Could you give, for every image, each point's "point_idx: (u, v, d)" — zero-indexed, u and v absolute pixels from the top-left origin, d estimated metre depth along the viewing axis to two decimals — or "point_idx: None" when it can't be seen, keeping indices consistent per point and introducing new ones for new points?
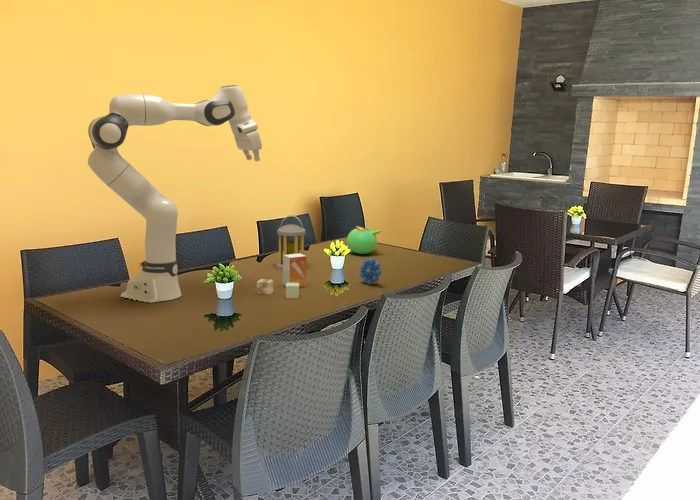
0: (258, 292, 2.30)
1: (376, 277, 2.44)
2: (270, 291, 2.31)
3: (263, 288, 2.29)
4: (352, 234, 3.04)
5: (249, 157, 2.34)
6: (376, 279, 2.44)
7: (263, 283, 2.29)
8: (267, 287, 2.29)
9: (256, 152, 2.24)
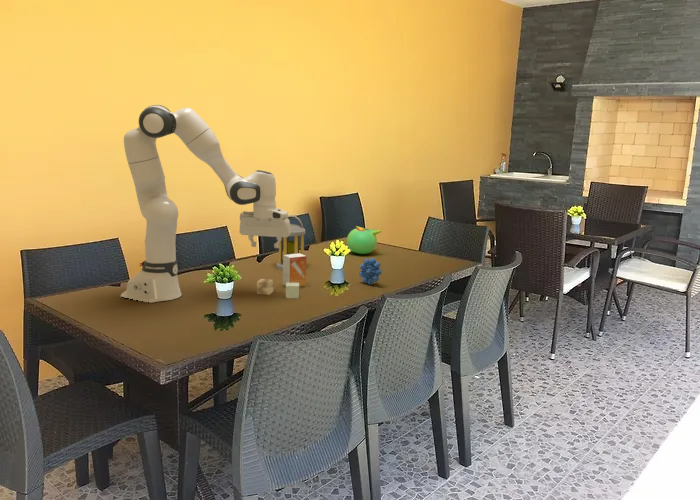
0: (258, 292, 2.30)
1: (376, 277, 2.44)
2: (270, 291, 2.31)
3: (263, 288, 2.29)
4: (352, 234, 3.04)
5: (255, 244, 2.29)
6: (376, 279, 2.44)
7: (263, 283, 2.29)
8: (267, 287, 2.29)
9: (280, 239, 2.26)
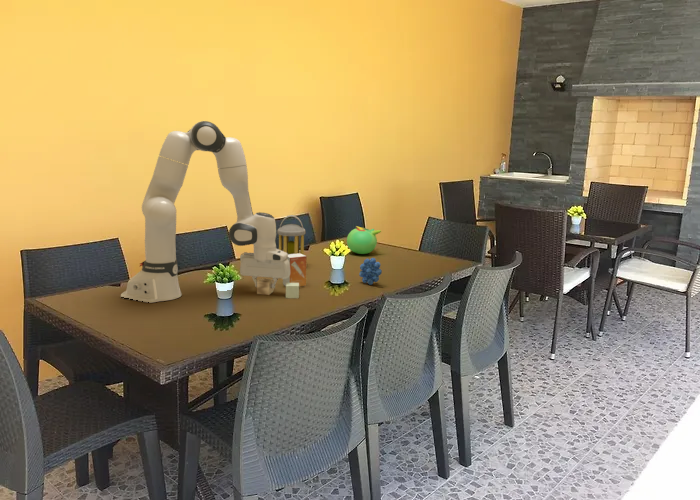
0: (258, 292, 2.30)
1: (376, 277, 2.44)
2: (270, 291, 2.31)
3: (263, 288, 2.29)
4: (352, 234, 3.04)
5: None
6: (376, 279, 2.44)
7: (263, 283, 2.29)
8: (267, 287, 2.29)
9: (276, 279, 2.30)
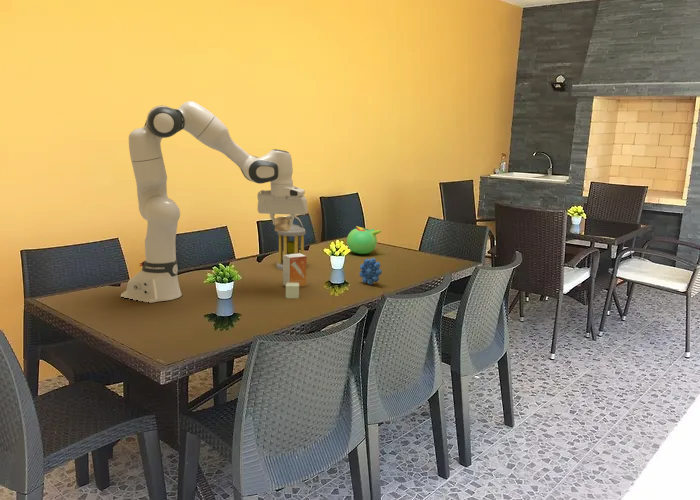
0: (276, 229, 2.31)
1: (376, 277, 2.44)
2: (288, 228, 2.32)
3: (281, 225, 2.30)
4: (352, 234, 3.04)
5: None
6: (376, 279, 2.44)
7: (281, 220, 2.30)
8: (284, 223, 2.30)
9: (294, 216, 2.31)
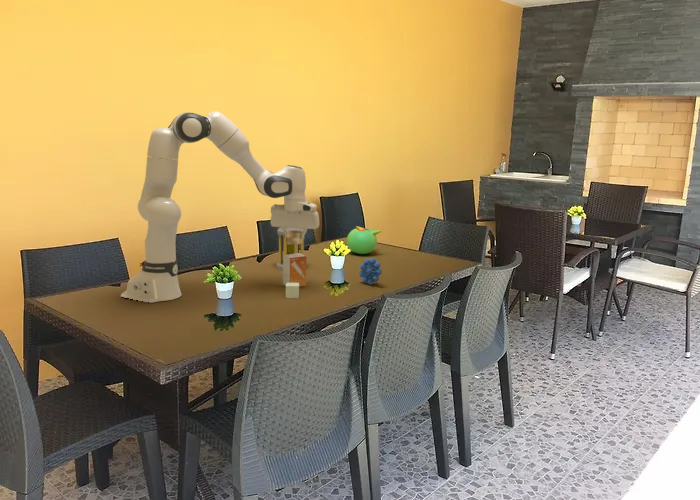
0: (288, 242, 2.38)
1: (376, 277, 2.44)
2: (300, 241, 2.39)
3: (293, 238, 2.37)
4: (352, 234, 3.04)
5: None
6: (376, 279, 2.44)
7: (293, 233, 2.37)
8: (297, 237, 2.37)
9: (306, 230, 2.38)
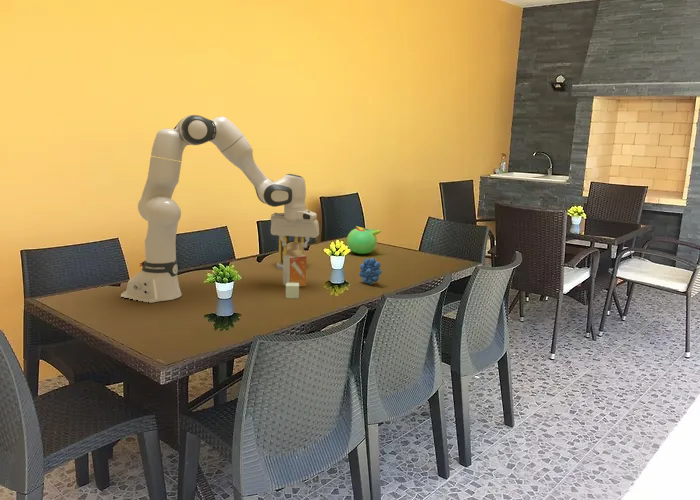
0: (288, 254, 2.39)
1: (376, 277, 2.44)
2: (299, 253, 2.40)
3: (293, 250, 2.38)
4: (352, 234, 3.04)
5: (286, 243, 2.41)
6: (376, 279, 2.44)
7: (293, 246, 2.38)
8: (296, 249, 2.38)
9: (308, 239, 2.39)
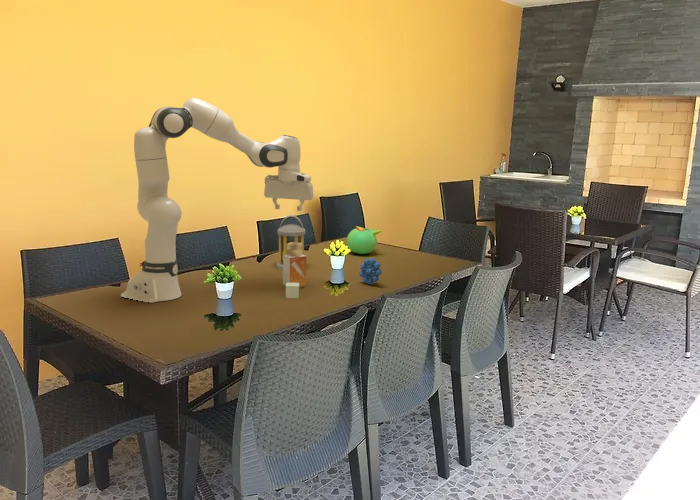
0: (288, 254, 2.39)
1: (376, 277, 2.44)
2: (299, 253, 2.40)
3: (293, 250, 2.38)
4: (352, 234, 3.04)
5: (278, 206, 2.38)
6: (376, 279, 2.44)
7: (293, 246, 2.38)
8: (296, 249, 2.38)
9: (303, 202, 2.36)
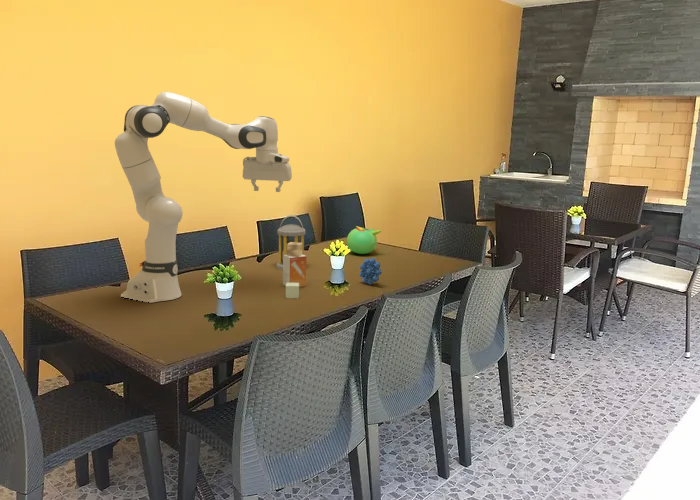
0: (288, 254, 2.39)
1: (376, 277, 2.44)
2: (300, 253, 2.40)
3: (293, 250, 2.38)
4: (352, 234, 3.04)
5: (257, 188, 2.39)
6: (376, 279, 2.44)
7: (293, 246, 2.38)
8: (296, 249, 2.38)
9: (282, 183, 2.36)
